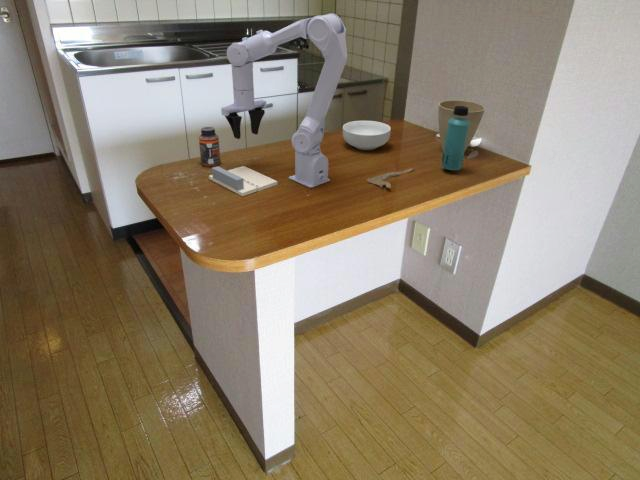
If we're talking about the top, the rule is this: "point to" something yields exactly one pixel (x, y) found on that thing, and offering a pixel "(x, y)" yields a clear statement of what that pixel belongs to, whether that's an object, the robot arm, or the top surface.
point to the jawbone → (379, 179)
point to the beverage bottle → (456, 140)
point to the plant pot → (447, 113)
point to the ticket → (254, 178)
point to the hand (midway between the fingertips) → (246, 135)
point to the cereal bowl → (366, 134)
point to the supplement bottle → (209, 147)
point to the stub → (231, 181)
